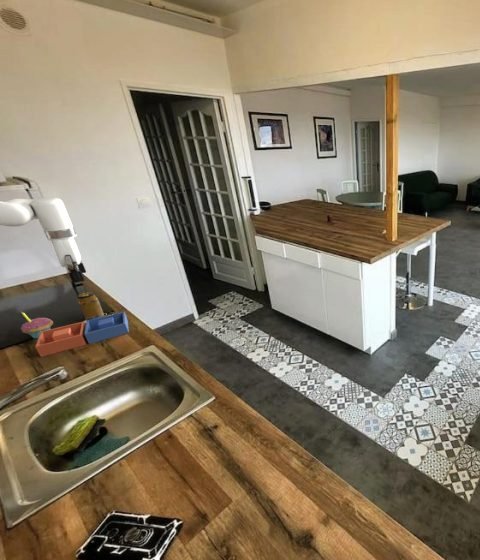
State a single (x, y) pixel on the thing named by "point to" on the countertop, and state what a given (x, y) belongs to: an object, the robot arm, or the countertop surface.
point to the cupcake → (36, 326)
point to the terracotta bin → (50, 346)
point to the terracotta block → (62, 334)
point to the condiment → (90, 306)
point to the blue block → (106, 323)
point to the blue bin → (98, 334)
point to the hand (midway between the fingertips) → (79, 277)
